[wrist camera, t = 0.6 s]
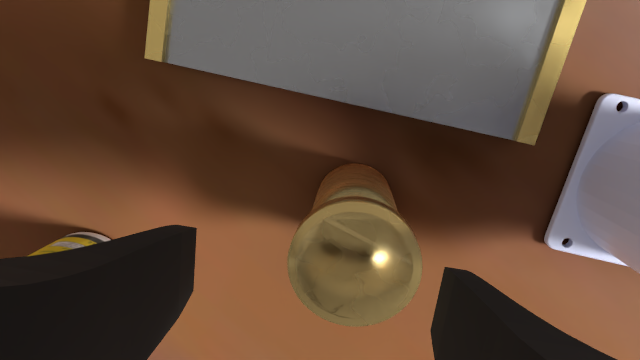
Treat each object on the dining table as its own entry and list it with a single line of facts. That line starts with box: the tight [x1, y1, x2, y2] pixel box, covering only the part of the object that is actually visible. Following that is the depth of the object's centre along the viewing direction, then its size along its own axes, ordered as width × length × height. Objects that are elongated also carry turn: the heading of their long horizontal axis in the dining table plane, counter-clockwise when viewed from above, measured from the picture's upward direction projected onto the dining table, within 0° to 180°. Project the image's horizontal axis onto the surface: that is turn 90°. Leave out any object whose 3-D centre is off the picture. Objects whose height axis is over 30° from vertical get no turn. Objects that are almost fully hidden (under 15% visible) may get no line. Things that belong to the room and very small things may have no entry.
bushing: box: [288, 163, 422, 326], centre depth 18 cm, size 5×5×8 cm
